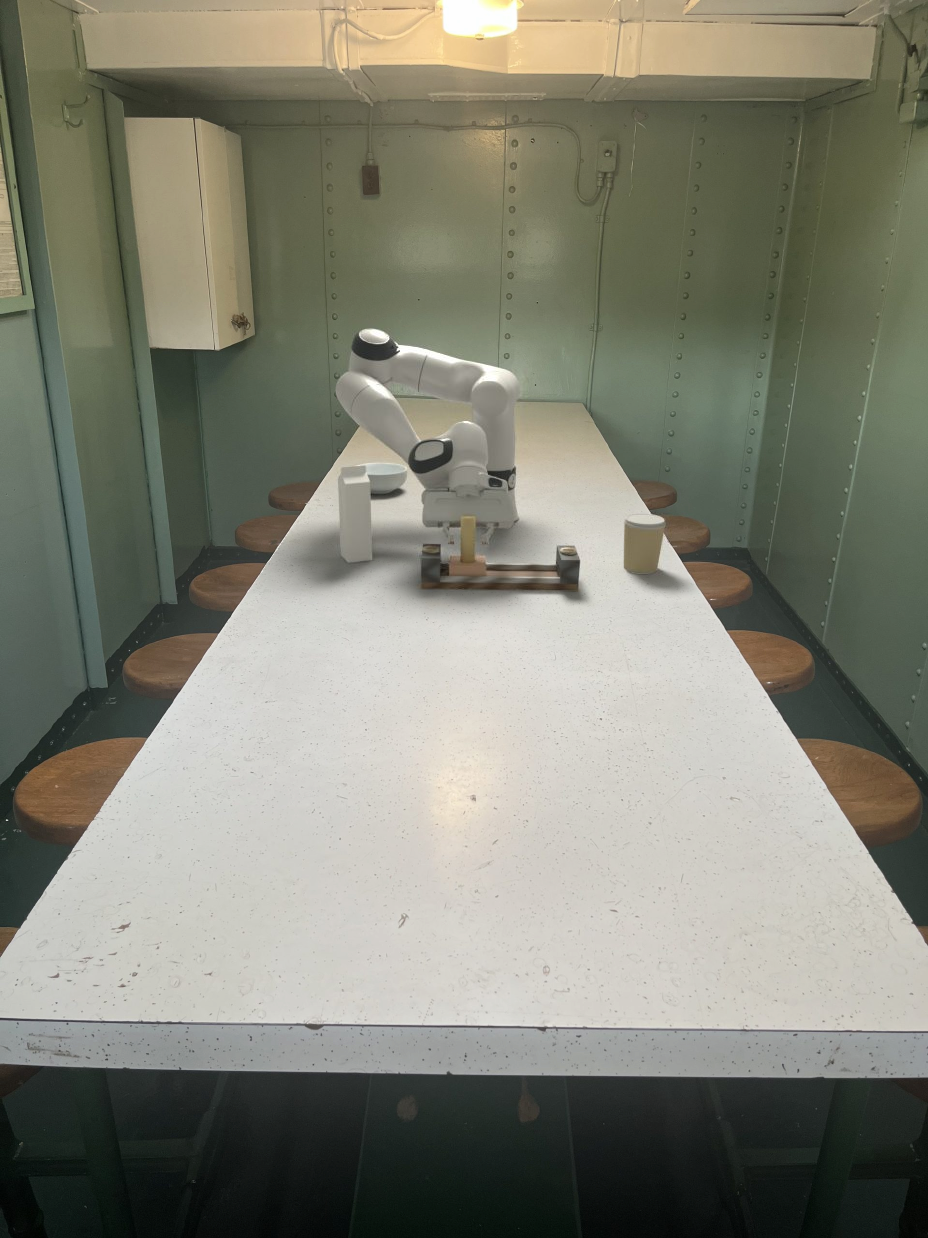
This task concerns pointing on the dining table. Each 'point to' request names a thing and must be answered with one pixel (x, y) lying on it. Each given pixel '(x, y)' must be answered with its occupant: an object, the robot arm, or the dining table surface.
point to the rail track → (504, 573)
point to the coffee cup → (642, 542)
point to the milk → (355, 514)
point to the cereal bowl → (385, 477)
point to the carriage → (467, 552)
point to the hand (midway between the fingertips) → (468, 543)
